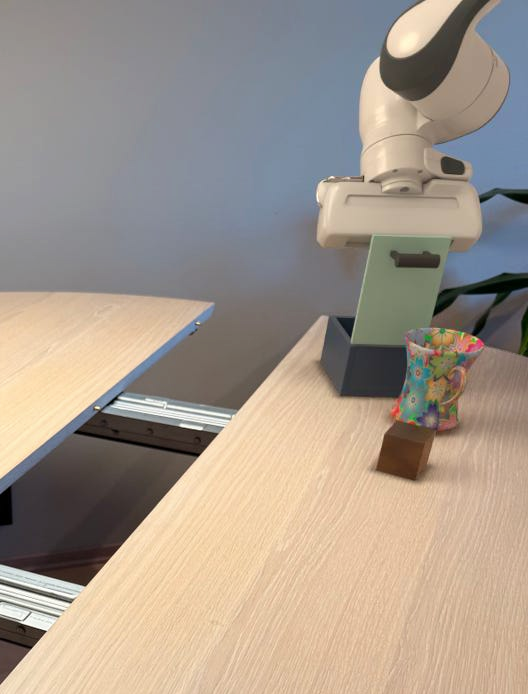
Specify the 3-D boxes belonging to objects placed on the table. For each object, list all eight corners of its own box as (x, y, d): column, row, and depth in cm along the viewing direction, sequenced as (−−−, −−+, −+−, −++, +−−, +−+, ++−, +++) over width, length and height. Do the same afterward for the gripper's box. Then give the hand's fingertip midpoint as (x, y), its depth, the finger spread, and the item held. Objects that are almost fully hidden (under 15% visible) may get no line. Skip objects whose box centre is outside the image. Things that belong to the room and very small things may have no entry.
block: (426, 466, 115) (436, 429, 112) (414, 480, 112) (424, 443, 109) (387, 456, 117) (396, 420, 114) (375, 470, 114) (384, 433, 111)
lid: (372, 234, 120) (383, 244, 116) (450, 236, 121) (463, 246, 117) (350, 342, 128) (359, 355, 124) (423, 344, 128) (435, 356, 124)
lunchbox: (319, 362, 142) (328, 315, 138) (385, 363, 142) (396, 317, 138) (340, 395, 132) (350, 346, 128) (411, 397, 132) (423, 348, 128)
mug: (374, 407, 129) (393, 327, 123) (442, 407, 130) (464, 327, 124) (410, 447, 119) (432, 362, 113) (483, 446, 120) (509, 361, 114)
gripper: (322, 159, 123) (325, 262, 121) (485, 164, 123) (490, 266, 121) (309, 190, 129) (311, 288, 127) (463, 194, 129) (468, 292, 127)
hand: (399, 277), depth 124 cm, fingers closed, pressing on lid
